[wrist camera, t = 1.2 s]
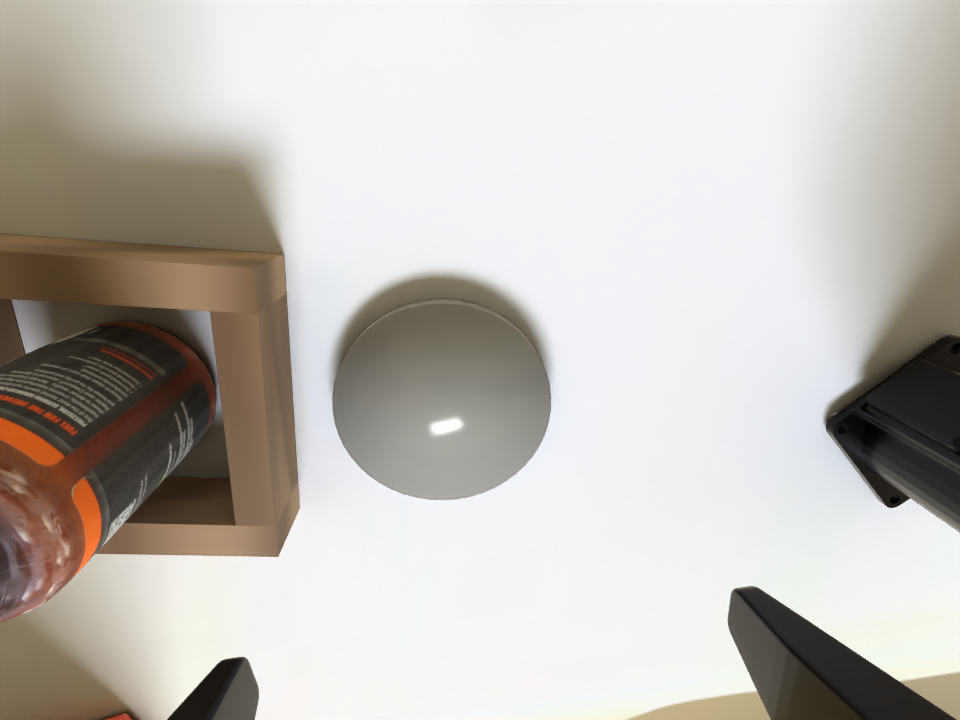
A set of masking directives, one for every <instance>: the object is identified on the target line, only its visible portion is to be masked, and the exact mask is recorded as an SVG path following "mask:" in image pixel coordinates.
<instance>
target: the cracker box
mask: <svg viewBox="0 0 960 720" xmlns="http://www.w3.org/2000/svg"><path fill="white" fill-rule="evenodd" d="M104 720H132V719H131V718H130V716H129V715H128V714H127V713H123V714H121V715H118V716H115V717H112V718H108V719H104Z"/></svg>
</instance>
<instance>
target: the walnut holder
mask: <svg viewBox="0 0 960 720" xmlns="http://www.w3.org/2000/svg"><path fill="white" fill-rule="evenodd" d="M10 299H17V300H33V301H50V302H67V303H83V304H100V305H117V306H133V307H150V308H167V309H183V310H200V311H210V315H211V323H212V332H213V340H214V348H215V357H216V365H217V373H218V382H219V390H220V399H221V407H222V415H223V424H224V432H225V440H226V449H227V457H228V465H229V474H230V479H211V478H179V477H166V478H165V479H164V480H163V481H162V482H161V484H160V485H159V486H158V487H157V488H156V489H155V490H154V491H153V492H152V493H151V494H150V495H149V496H148V497H147V499H146V500H145V501H144V502H143V503H142V504H141V505H140V506H139V507H138V508H137V510H136V511H135V512H134V513H133V514H132V515H131V516H130V517H129V518H128V519H127V520H126V521H125V522H124V523H123V525H122V526H121V527H120V528H119V529H118V530H117V531H116V532H115V533H114V535H113V536H112V537H111V538H110V539H109V540H108V541H107V542H106V543H105V544H104V545H103V546H102V547H101V549H100V550H99V551H98V552H97V553H95V554H147V555H204V556H262V557H278V556H279V554H280V551H281V549H282V547H283V545H284V542H285V540H286V538H287V536H288V533H289V531H290V529H291V527H292V524H293V522H294V520H295V518H296V515H297V513H298V511H299V509H300V508H299V492H298V476H297V459H296V443H295V427H294V410H293V394H292V377H291V361H290V345H289V328H288V312H287V296H286V279H285V263H284V254H275V253H261V252H247V251H233V250H219V249H205V248H191V247H177V246H163V245H148V244H134V243H120V242H106V241H92V240H78V239H64V238H50V237H36V236H22V235H7V234H0V365H3V364H5V363H7V362H10V361H12V360H14V359H16V358H18V357H21V356H23V355H25V353H24V349H23V345H22V341H21V338H20V334H19V330H18V326H17V323H16V319H15V315H14V311H13V308H12V304H11V300H10Z"/></svg>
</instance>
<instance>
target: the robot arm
mask: <svg viewBox="0 0 960 720" xmlns="http://www.w3.org/2000/svg"><path fill="white" fill-rule="evenodd" d="M841 425H842V426H841ZM840 426H841V427H840ZM839 427H840V428H839ZM838 428H839V429H838ZM826 430H827V432H828V434H829V435H830V436H831V438H832V439H833V440H834V442H835V443H836V444H837V445H838V447H839V448H840V449H841V451H842V452H843V453H844V455H845V456H846V457H847V459H848V460H849V461H850V463H851V464H852V465H853V467H854V468H855V469H856V471H857V472H858V473H859V475H860V476H861V477H862V479H863V480H864V481H865V483H866V484H867V485H868V487H869V488H870V489H871V490H872V492H873V493H874V494H875V496H876V497H877V498H878V500H879V501H880V502H882V503H883V504H884V505H886V506H887V507H889V508H894V507H897V506H899V505H901V504H902V503H904V502H905V501H907V500H908V499H910V498H911V499H912V500H914V501H915V502H917V503H918V504H920V505H921V506H922V507H924V508H925V509H927V510H928V511H930V512H931V513H933V514H934V515H935V516H937V517H938V518H940V519H941V520H943V521H944V522H946V523H947V524H948V525H950V526H951V527H953V528H954V529H956V530H957V531H958V532H960V337H958V336H954V335H947V336H945V337H943V338H942V339H940V340H939V341H937V342H936V343H935V344H933V345H932V346H931V347H929V348H928V349H926V350H925V351H924V352H922V353H921V354H919V355H918V356H917V357H915V358H914V359H913V360H911V361H910V362H908V363H907V364H906V365H904V366H903V367H902V368H900V369H899V370H897V371H896V372H895V373H893V374H892V375H890V376H889V377H888V378H886V379H885V380H884V381H882V382H881V383H879V384H878V385H877V386H875V387H874V388H873V389H871V390H870V391H868V392H867V393H866V394H864V395H863V396H862V397H860V398H859V399H857V400H856V401H855V402H853V403H852V404H850V405H849V406H848V407H846V408H845V409H844V410H842V411H841V412H839V413H838V414H837V415H835V416H834V417H833V418H831V419H830V420H829V421H828V423H827V425H826ZM728 626H729V630H730V633H731V635H732V637H733V640H734V642H735V644H736V646H737V648H738V650H739V653H740V655H741V657H742V659H743V661H744V663H745V665H746V668H747V670H748V672H749V674H750V676H751V678H752V681H753V683H754V685H755V687H756V689H757V691H758V694H759V696H760V698H761V700H762V702H763V704H764V706H765V709H766V710H767V713H768V715H769V717H770V719H771V720H956V719H955V718H953V717H952V716H950V715H949V714H947V713H946V712H944V711H943V710H941V709H940V708H938V707H937V706H935V705H934V704H932V703H931V702H929V701H927V700H926V699H924V698H923V697H922V696H920V695H919V694H917V693H916V692H914V691H913V690H911V689H910V688H908V687H907V686H905V685H904V684H902V683H901V682H899V681H898V680H896V679H895V678H893V677H892V676H890V675H889V674H887V673H886V672H884V671H883V670H881V669H880V668H878V667H877V666H875V665H874V664H872V663H871V662H869V661H868V660H866V659H865V658H863V657H862V656H860V655H859V654H857V653H856V652H854V651H853V650H851V649H850V648H848V647H847V646H845V645H844V644H842V643H841V642H839V641H838V640H836V639H835V638H833V637H832V636H830V635H829V634H827V633H826V632H824V631H823V630H821V629H820V628H818V627H817V626H815V625H814V624H812V623H811V622H809V621H808V620H806V619H805V618H803V617H802V616H800V615H798V614H797V613H795V612H794V611H792V610H791V609H789V608H788V607H786V606H785V605H783V604H782V603H780V602H779V601H777V600H776V599H774V598H773V597H771V596H770V595H768V594H767V593H765V592H764V591H762V590H761V589H759V588H757V587H754V586H748V587H741V588H735V589H734V590H733V591H732V593H731V598H730V606H729V613H728ZM258 700H259V689H258V685H257V682H256V679H255V677H254V674H253V671H252V669H251V666H250V663H249V661H248V659H246V658H245V657H237V658H230V659H225V660H222V661H221V662H219V663H218V664H217V665H216V666H215V667H214V668H213V669H212V671H211V672H210V673H209V674H208V675H207V676H206V677H205V678H204V679H203V680H202V682H201V683H200V684H199V685H198V686H197V687H196V688H195V689H194V690H193V691H192V693H191V694H190V695H189V696H188V697H187V698H186V699H185V700H184V701H183V703H182V704H181V705H180V706H179V707H178V708H177V709H176V710H175V711H174V712H173V714H172V715H171V716H170V717H169V718H168V719H167V720H255V715H256V710H257V705H258Z"/></svg>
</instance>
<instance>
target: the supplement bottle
mask: <svg viewBox="0 0 960 720" xmlns="http://www.w3.org/2000/svg"><path fill="white" fill-rule="evenodd" d="M215 411H216V391H215V387H214V384H213V380H212V378H211V376H210V374H209V372H208V370H207V368H206V367H205V365H204V364H203V362H202V361H201V359H200V358H199V357H198V356H197V354H196V353H195V352H194V351H193V350H192V349H191V348H190V347H188V346H187V345H186V344H185V343H183V342H182V341H181V340H179V339H178V338H176V337H174V336H173V335H171V334H169V333H167V332H165V331H162V330H160V329H158V328H155V327H153V326H150V325H146V324H141V323H135V322H127V321H121V322H110V323H104V324H99V325H96V326H93V327H90V328H87V329H83V330H81V331H79V332H76V333H74V334H72V335H69V336H67V337H65V338H63V339H60V340H58V341H56V342H53V343H51V344H49V345H46V346H44V347H41V348H39V349H37V350H34V351H32V352H30V353H27V354H25V355H23V356H21V357H18V358H16V359H14V360H12V361H10V362H7V363H5V364H3V365H0V622H3V621H6V620H9V619H12V618H15V617H17V616H20V615H22V614H24V613H27V612H29V611H31V610H34V609H36V608H37V607H38V606H40V605H42V604H43V603H45V602H46V601H48V600H49V599H50V598H51V597H52V596H54V595H55V594H56V593H57V592H58V591H59V590H61V589H62V588H63V587H64V586H65V585H66V584H67V583H68V582H69V581H70V580H71V579H72V578H73V577H74V576H75V575H76V574H77V573H78V572H79V570H80V569H81V568H82V567H83V566H84V565H85V564H86V563H87V562H88V561H89V560H90V558H91V557H92V556H93V555H94V554H95V553H97V552H98V551H99V550H100V549H101V547H102V546H103V545H104V544H105V543H106V542H107V541H108V540H109V539H110V538H111V537H112V536H113V535H114V533H115V532H116V531H117V530H118V529H119V528H120V527H121V526H122V525H123V523H124V522H125V521H126V520H127V519H128V518H129V517H130V516H131V515H132V514H133V513H134V512H135V511H136V510H137V508H138V507H139V506H140V505H141V504H142V503H143V502H144V501H145V500H146V499H147V497H148V496H149V495H150V494H151V493H152V492H153V491H154V490H155V489H156V488H157V487H158V486H159V485H160V484H161V482H162V481H163V480H164V479H165V478H166V477H167V476H168V475H169V474H170V473H171V471H172V470H173V469H174V468H175V467H176V466H177V465H178V464H179V463H180V462H181V461H182V460H183V458H184V457H185V456H186V455H187V454H188V453H189V452H190V451H191V450H192V449H193V448H194V447H195V446H196V444H197V443H198V442H199V441H200V440H201V438H202V437H203V436H204V434H205V433H206V431H207V430H208V429H209V427H210V425H211V423H212V421H213V418H214V414H215Z"/></svg>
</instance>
